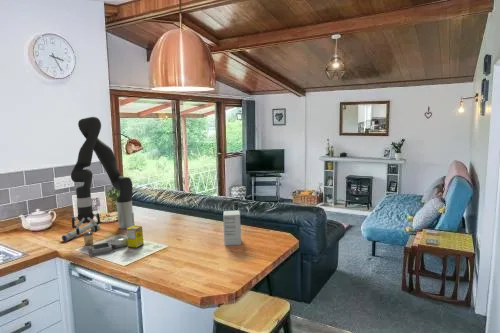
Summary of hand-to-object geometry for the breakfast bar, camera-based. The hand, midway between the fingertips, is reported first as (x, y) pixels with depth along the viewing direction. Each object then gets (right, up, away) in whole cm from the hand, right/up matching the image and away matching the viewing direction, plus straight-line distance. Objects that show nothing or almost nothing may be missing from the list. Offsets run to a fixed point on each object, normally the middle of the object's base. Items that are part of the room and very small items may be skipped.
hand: (87, 233), depth 188 cm
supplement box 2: (+82, -5, -2) cm, 82 cm away
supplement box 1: (+29, -7, -4) cm, 30 cm away
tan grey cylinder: (+1, -7, +1) cm, 7 cm away
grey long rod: (-12, -5, +19) cm, 23 cm away
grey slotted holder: (+15, -7, -7) cm, 18 cm away
